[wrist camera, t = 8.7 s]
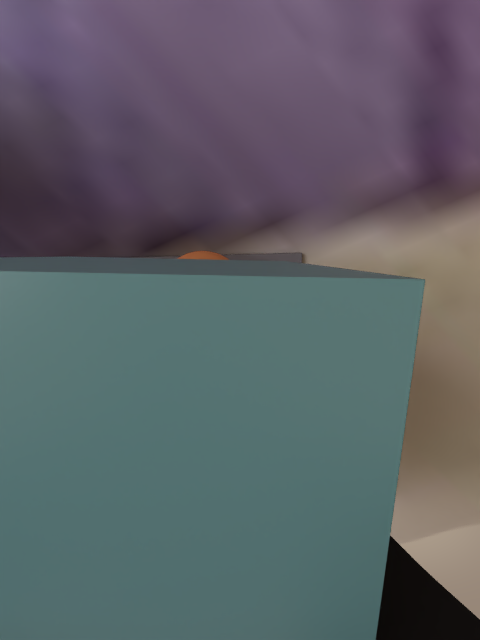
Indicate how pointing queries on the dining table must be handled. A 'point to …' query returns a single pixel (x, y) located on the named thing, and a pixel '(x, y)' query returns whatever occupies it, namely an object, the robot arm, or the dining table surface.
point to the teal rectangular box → (199, 447)
